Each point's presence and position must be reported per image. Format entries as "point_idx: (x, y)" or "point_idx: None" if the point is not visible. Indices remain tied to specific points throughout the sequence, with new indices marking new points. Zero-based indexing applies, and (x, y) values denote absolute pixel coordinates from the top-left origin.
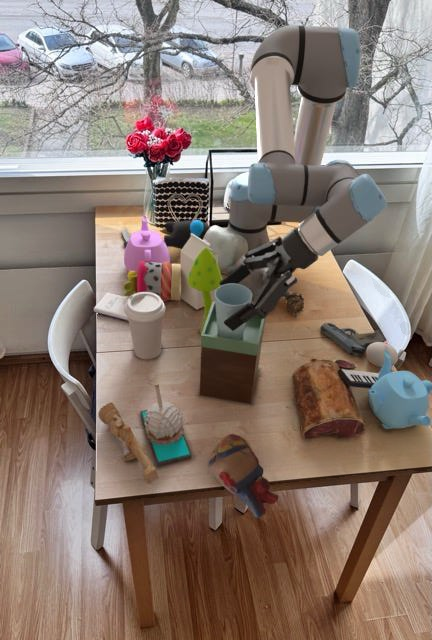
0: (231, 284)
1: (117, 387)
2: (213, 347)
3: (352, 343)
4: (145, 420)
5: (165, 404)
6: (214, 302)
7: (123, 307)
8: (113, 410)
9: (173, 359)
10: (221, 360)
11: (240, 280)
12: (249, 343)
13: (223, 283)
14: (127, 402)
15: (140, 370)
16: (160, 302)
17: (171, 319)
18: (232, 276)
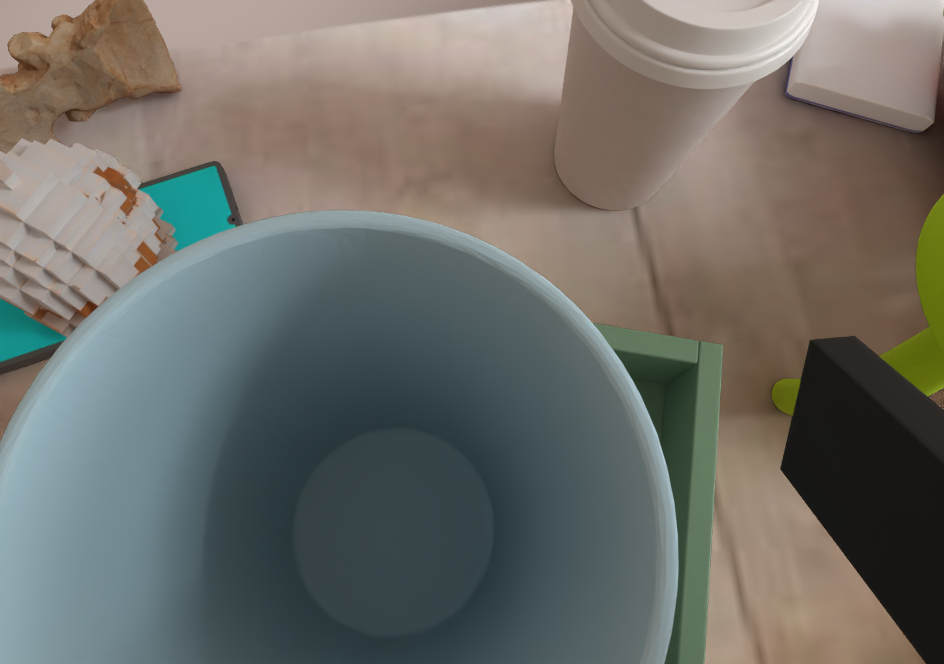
0: (647, 486)
1: (376, 72)
2: None
3: None
4: (166, 183)
5: (55, 204)
6: (708, 360)
7: (864, 22)
8: (90, 13)
9: (569, 269)
10: None
11: (926, 646)
12: None
13: (828, 387)
14: (293, 116)
15: (483, 143)
16: (726, 22)
17: (850, 239)
18: (939, 503)
